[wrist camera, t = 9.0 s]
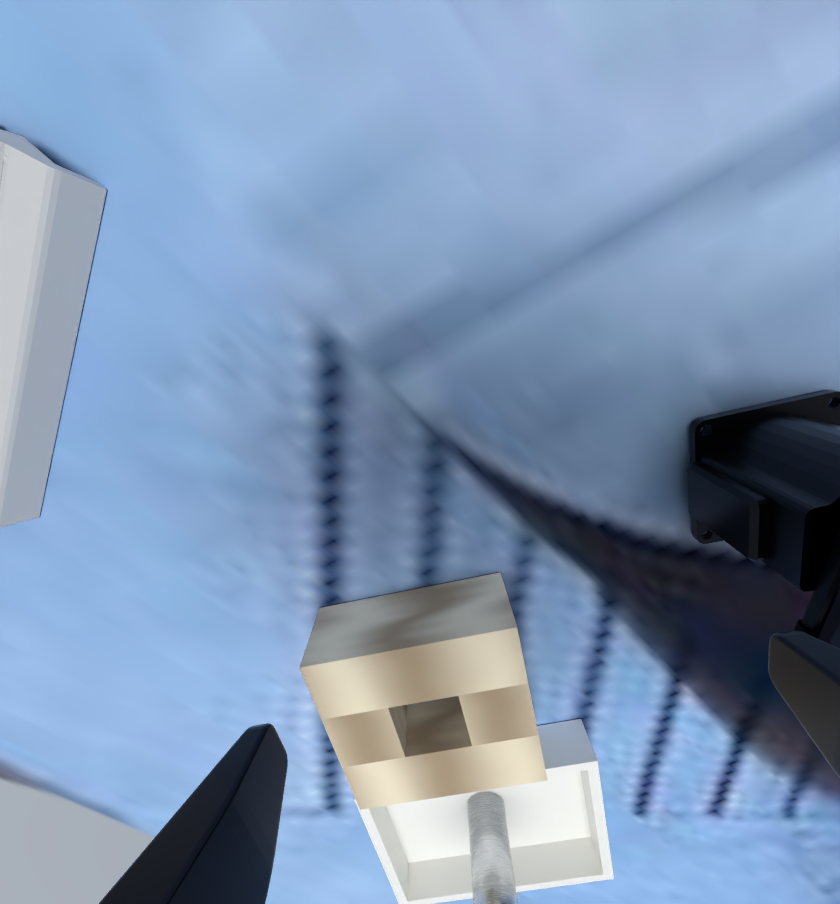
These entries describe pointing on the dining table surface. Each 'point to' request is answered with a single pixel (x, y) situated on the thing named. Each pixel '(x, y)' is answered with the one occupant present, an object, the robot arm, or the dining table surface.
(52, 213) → the hinge
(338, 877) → the dining table surface
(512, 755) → the block
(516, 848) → the tray
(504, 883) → the pin
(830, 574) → the robot arm
